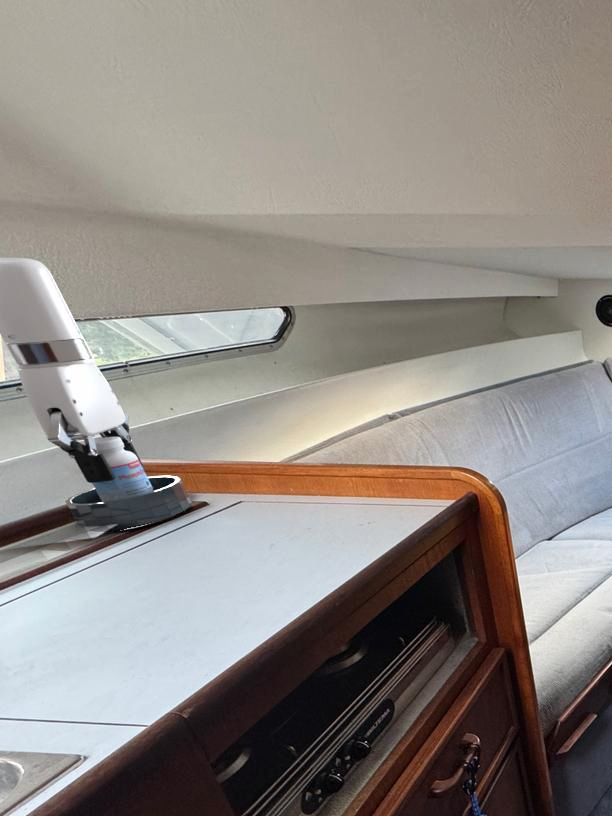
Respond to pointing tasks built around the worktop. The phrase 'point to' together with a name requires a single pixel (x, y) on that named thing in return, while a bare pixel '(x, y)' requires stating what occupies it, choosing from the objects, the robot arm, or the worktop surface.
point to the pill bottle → (121, 472)
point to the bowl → (131, 505)
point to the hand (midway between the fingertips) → (116, 473)
